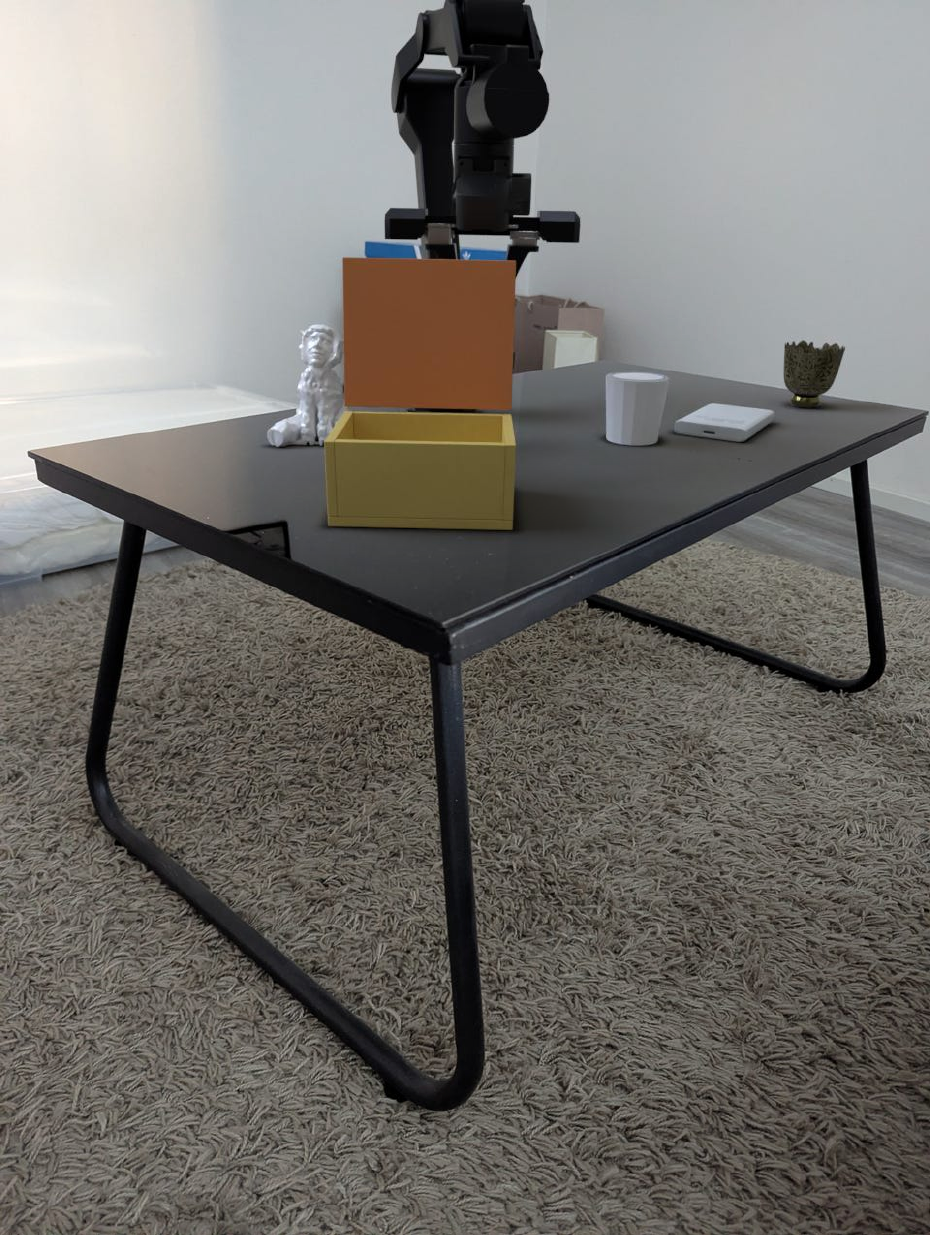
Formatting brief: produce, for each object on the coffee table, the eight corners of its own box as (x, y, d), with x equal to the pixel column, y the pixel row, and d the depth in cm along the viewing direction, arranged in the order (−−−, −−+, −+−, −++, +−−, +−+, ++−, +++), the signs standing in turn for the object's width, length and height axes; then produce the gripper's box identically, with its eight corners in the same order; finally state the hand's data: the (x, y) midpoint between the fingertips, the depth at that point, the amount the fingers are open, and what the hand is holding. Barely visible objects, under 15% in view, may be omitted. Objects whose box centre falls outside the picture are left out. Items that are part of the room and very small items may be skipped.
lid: (516, 260, 75) (515, 261, 76) (342, 257, 75) (343, 258, 76) (511, 409, 78) (511, 409, 79) (344, 406, 78) (345, 406, 79)
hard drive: (773, 423, 109) (744, 443, 100) (707, 415, 113) (673, 433, 103) (775, 410, 109) (746, 428, 99) (708, 402, 112) (674, 419, 103)
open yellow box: (512, 530, 71) (516, 445, 68) (327, 526, 71) (323, 441, 68) (508, 489, 81) (511, 413, 79) (347, 485, 81) (344, 410, 79)
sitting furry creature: (265, 447, 94) (256, 327, 89) (290, 429, 102) (283, 318, 97) (354, 451, 93) (350, 331, 88) (371, 433, 101) (369, 321, 96)
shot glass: (662, 448, 96) (670, 382, 94) (598, 444, 98) (603, 379, 95) (663, 434, 103) (669, 372, 100) (602, 431, 104) (607, 369, 101)
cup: (839, 405, 121) (851, 343, 118) (827, 414, 115) (839, 349, 112) (783, 398, 124) (793, 338, 121) (768, 407, 119) (778, 344, 115)
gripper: (376, 137, 78) (380, 325, 84) (592, 141, 78) (579, 329, 84) (388, 146, 88) (391, 313, 94) (579, 149, 88) (569, 317, 94)
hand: (480, 318), depth 91 cm, fingers open, 4 cm apart
